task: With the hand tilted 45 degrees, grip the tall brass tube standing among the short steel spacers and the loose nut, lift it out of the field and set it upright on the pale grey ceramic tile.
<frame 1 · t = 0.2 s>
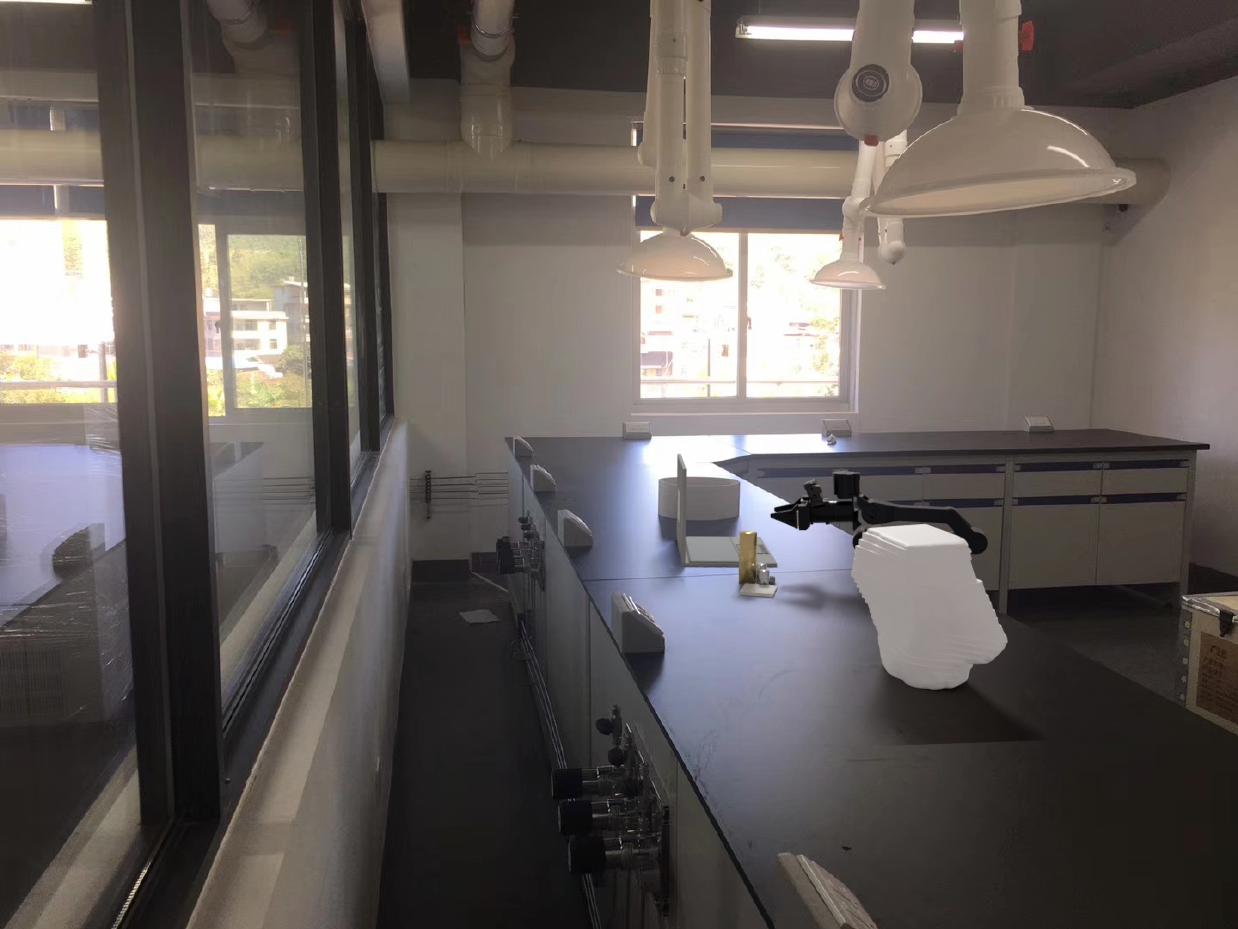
hand: (772, 512, 241), 17 cm above the counter, fingers open, 9 cm apart
tile: (758, 591, 227), on the counter
paper stack: (916, 676, 169), on the counter
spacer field: (757, 582, 236), on the counter
laptop: (723, 554, 270), on the counter
brass tube: (747, 582, 235), on the counter
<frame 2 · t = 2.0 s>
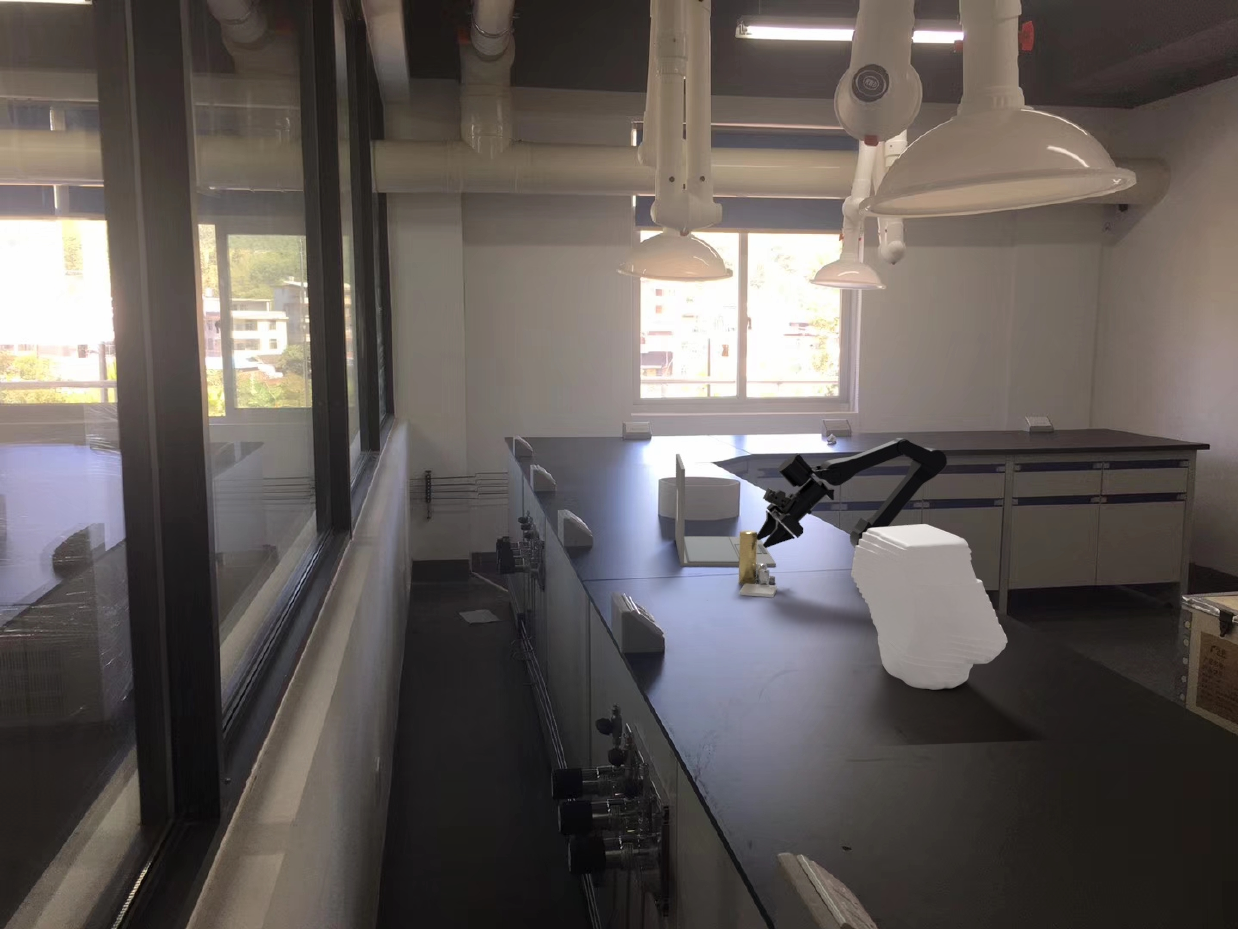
hand: (760, 542, 234), 10 cm above the counter, fingers open, 9 cm apart
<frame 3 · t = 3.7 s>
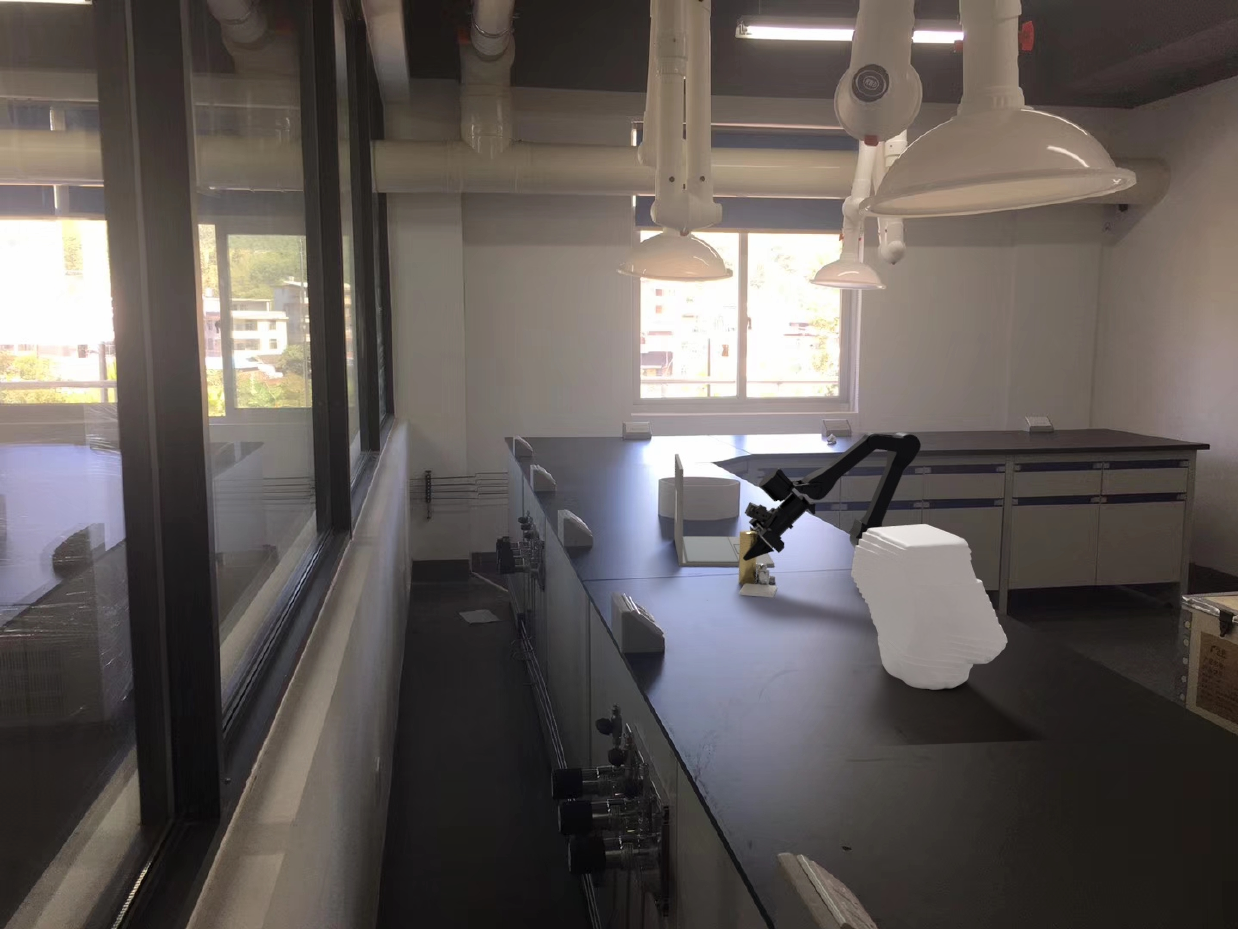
hand: (742, 557, 234), 7 cm above the counter, fingers closed on brass tube, 4 cm apart
brass tube: (747, 582, 235), on the counter, touching gripper
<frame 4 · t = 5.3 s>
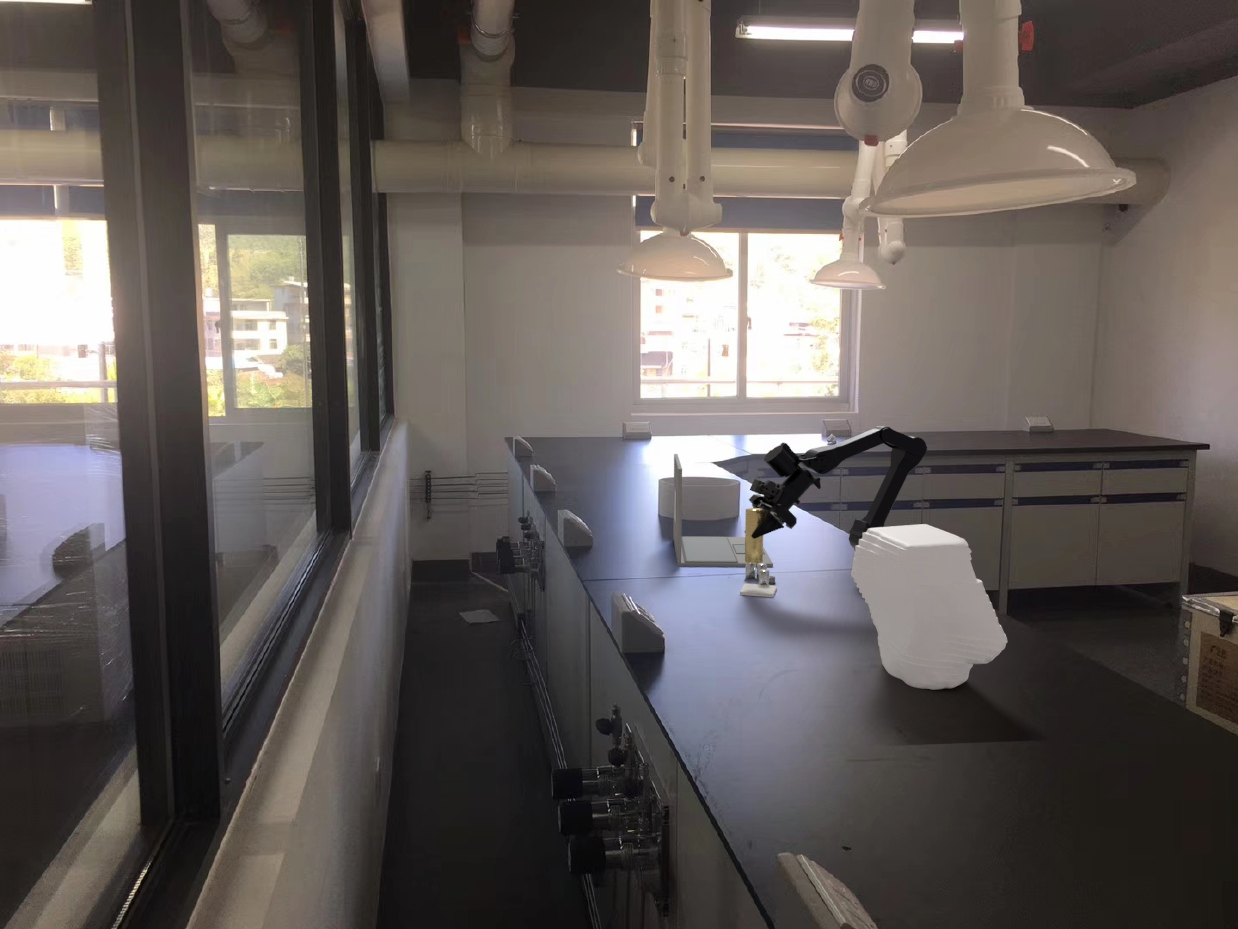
hand: (749, 535, 228), 13 cm above the counter, fingers closed on brass tube, 4 cm apart
brass tube: (753, 561, 229), point 7 cm above the counter, touching gripper
when the fingers open (8 cm above the counter, at t = 6.8 s): brass tube drops 1 cm, resting on tile.
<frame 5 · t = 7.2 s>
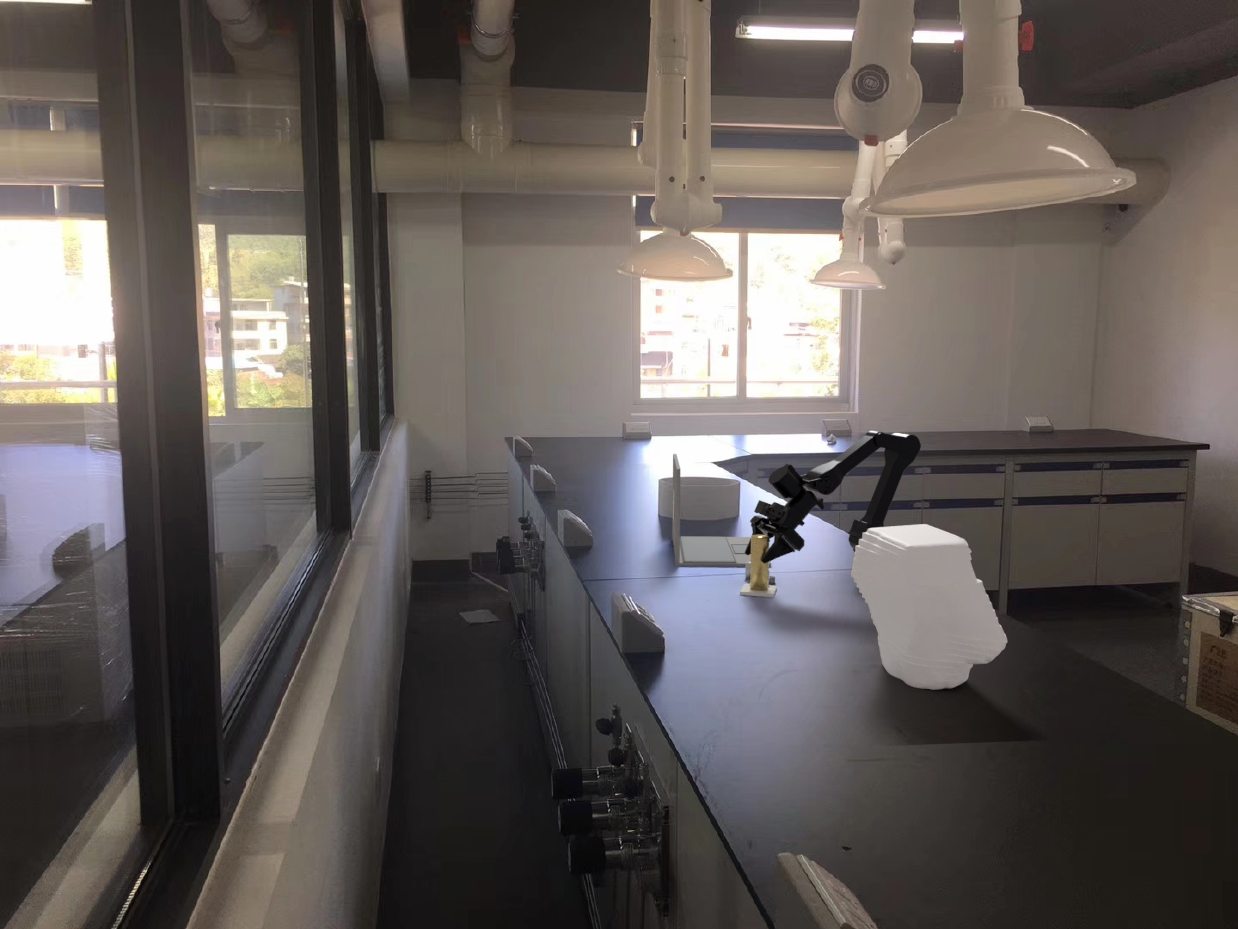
hand: (754, 558, 225), 9 cm above the counter, fingers open, 9 cm apart
brass tube: (759, 588, 227), point 1 cm above the counter, touching tile
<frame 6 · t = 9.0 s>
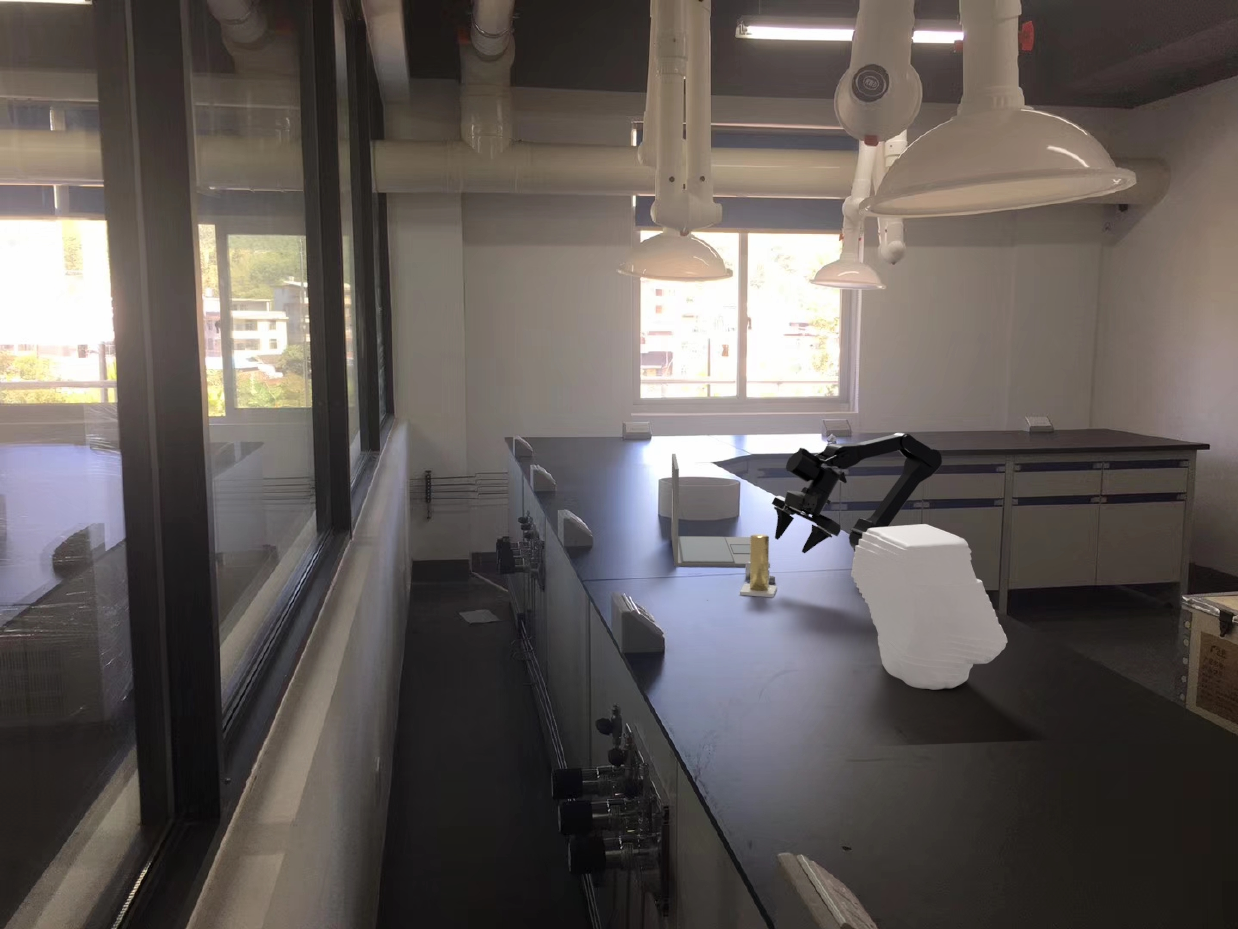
hand: (789, 545, 229), 11 cm above the counter, fingers open, 9 cm apart
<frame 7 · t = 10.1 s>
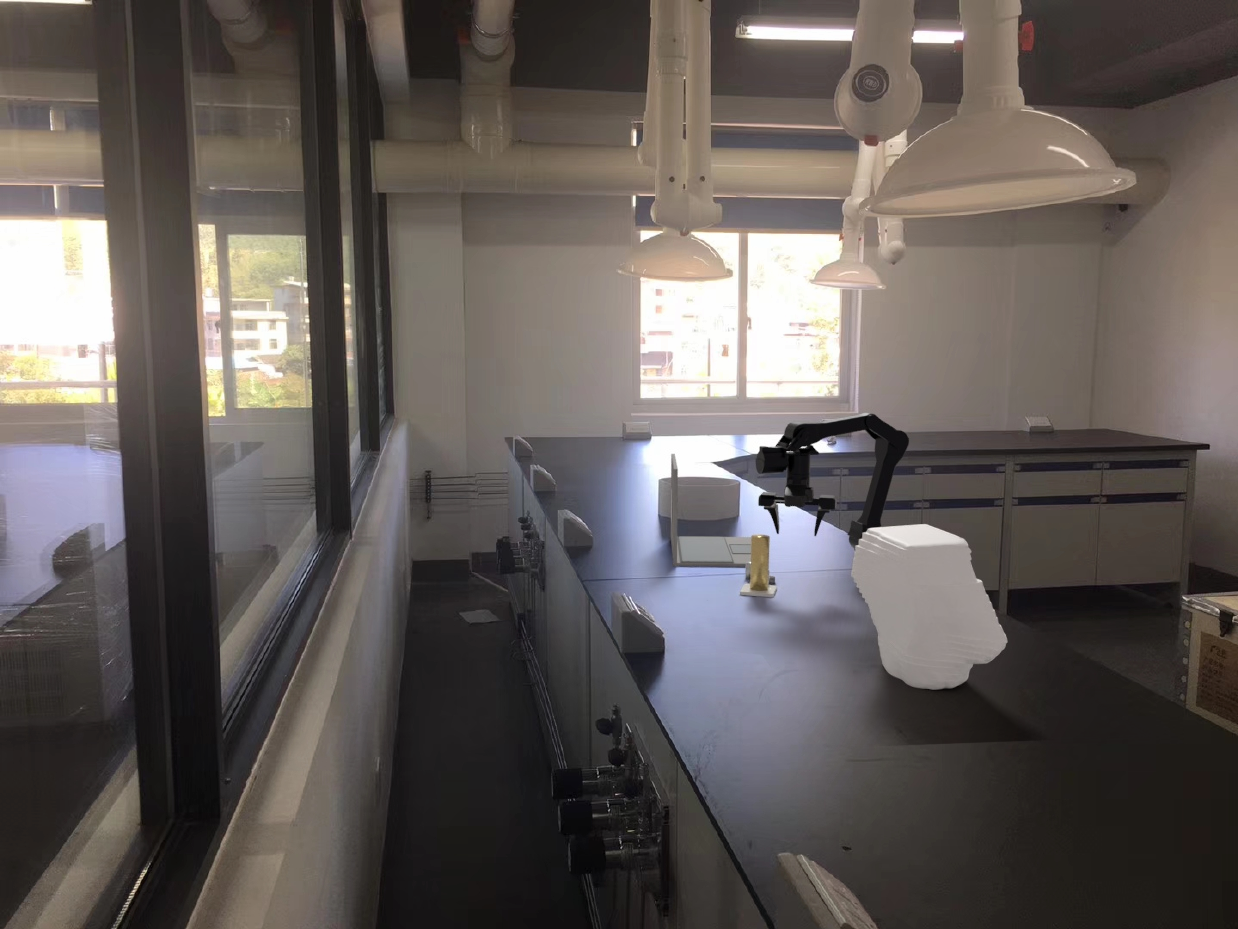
hand: (796, 534, 231), 13 cm above the counter, fingers open, 9 cm apart
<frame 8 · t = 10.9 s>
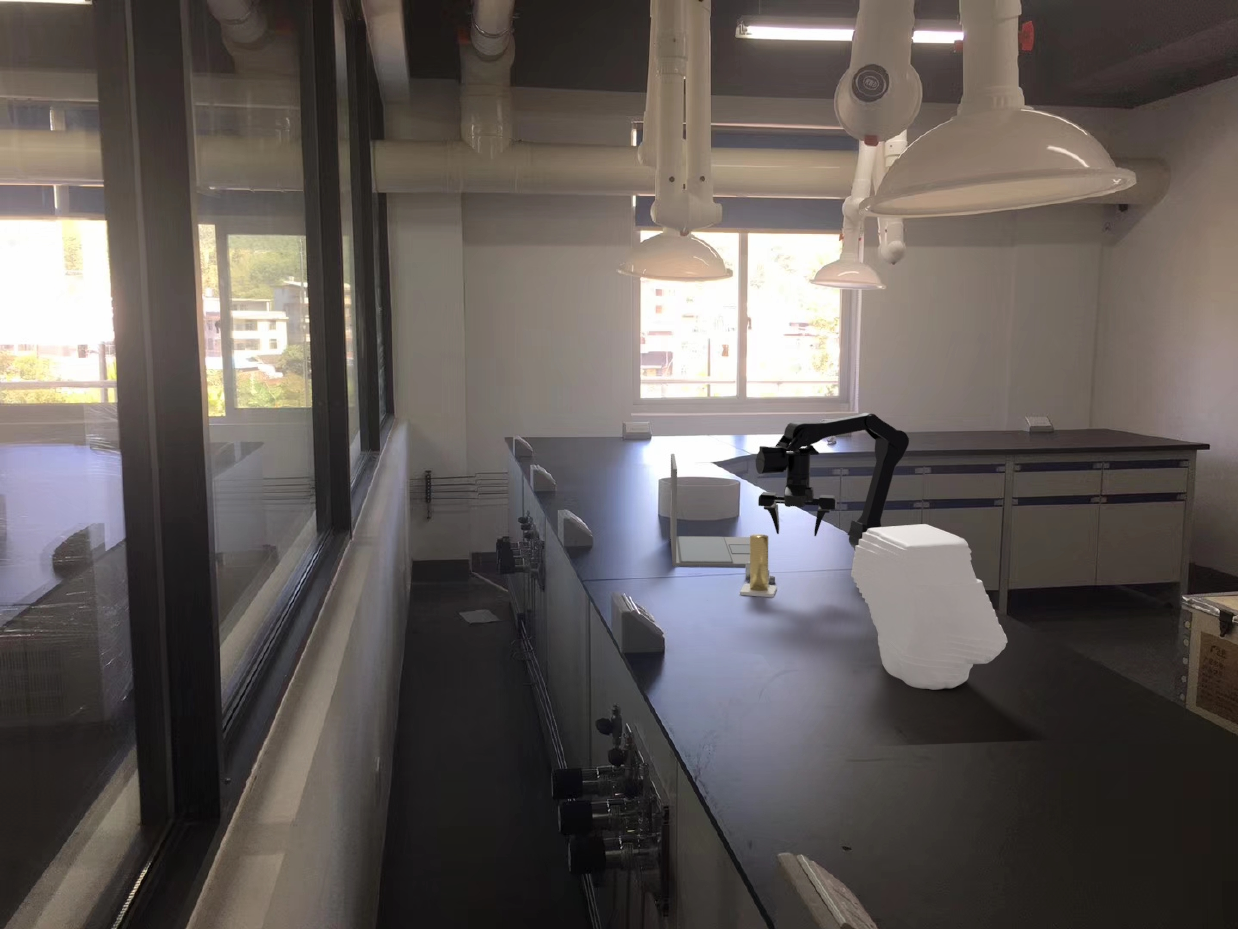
hand: (796, 534, 231), 13 cm above the counter, fingers open, 9 cm apart
at the end: brass tube inside the target area on the tile (0.1 cm from its centre), point 0.8 cm above the tile's base; brass tube tilted 1°; the gripper is holding nothing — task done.
